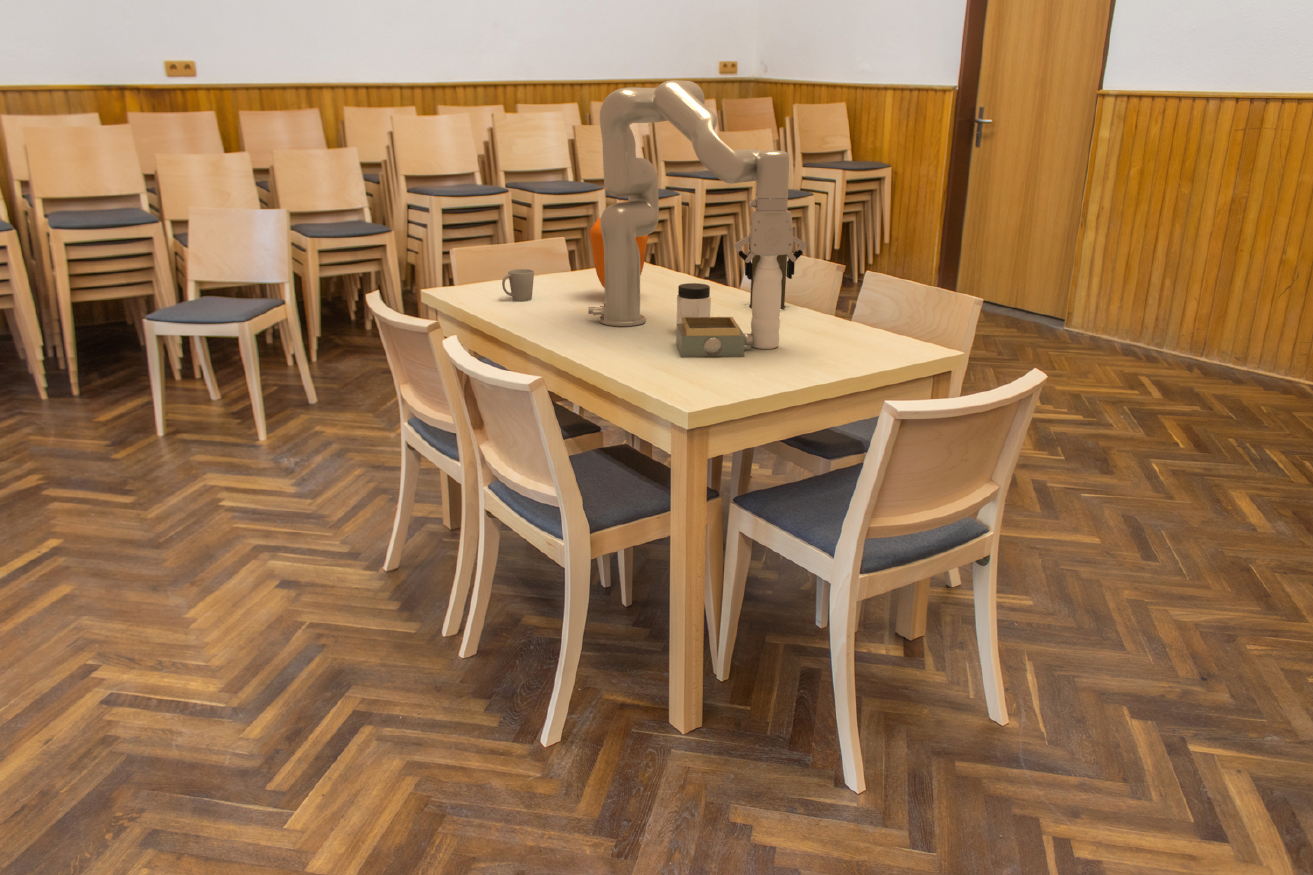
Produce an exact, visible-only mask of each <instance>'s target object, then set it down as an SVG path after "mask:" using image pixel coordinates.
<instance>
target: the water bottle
mask: <svg viewBox="0 0 1313 875" xmlns="http://www.w3.org/2000/svg"><path fill="white" fill-rule="evenodd" d="M777 256H778V255H760V257H761V259H760V261H759V262H758V264H757V267H756V269H755V270H754V273H753V279H754V282H753V292H752V308H751V321H750V330H751V331H750V334H753V336H754V343H753V345H750V346H751V347H752V348H755V349H758V350H759V349H760V350H772V349H776V348H777V347H779V344H780V327H781V324H780V323H781V320H780V317H781V310H780V308H781V280H782V271H781V269H780V267H779V263H778V262H777Z"/></svg>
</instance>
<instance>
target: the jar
mask: <svg viewBox="0 0 1313 875" xmlns="http://www.w3.org/2000/svg"><path fill="white" fill-rule="evenodd" d="M677 292H678V293H677V295H676V296H677V297H676V325H677V324H682V317H711V306H712V305H711V300H712V298H711V296H710V293H711V287H710V285H708V284H706V283H695V282H692V283H690V282H688V283H682V284H680V285H678V291H677Z"/></svg>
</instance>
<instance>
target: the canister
mask: <svg viewBox="0 0 1313 875" xmlns="http://www.w3.org/2000/svg"><path fill="white" fill-rule="evenodd" d="M760 259H761V257H760V255H755V256H754V257H753V259H752V260H751V263H752V279H751V280H750V302H749V303H750V304H749V308H751V309H752V292H753V282H754V279H753V273H754V270H755V269H756V267H757V264H758V262H759V261H760ZM787 261H788V257H787V255H778V256H777V262H778V263H779V267H780V269H781V271H782V280H781V308H780V309H782V310H784V309H785V308H786V305H785V304H786V302H785V300H786V284H787V276H786V274H787Z"/></svg>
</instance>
